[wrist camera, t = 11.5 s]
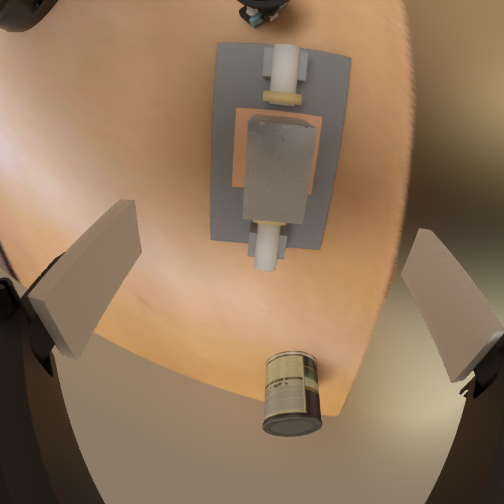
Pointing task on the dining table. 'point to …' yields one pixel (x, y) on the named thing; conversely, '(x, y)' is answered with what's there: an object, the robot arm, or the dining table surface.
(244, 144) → the coupling stand
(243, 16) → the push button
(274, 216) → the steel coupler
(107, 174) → the dining table surface
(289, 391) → the coffee can
